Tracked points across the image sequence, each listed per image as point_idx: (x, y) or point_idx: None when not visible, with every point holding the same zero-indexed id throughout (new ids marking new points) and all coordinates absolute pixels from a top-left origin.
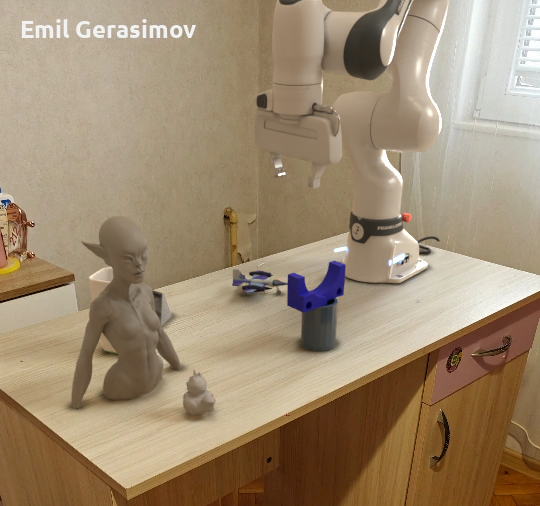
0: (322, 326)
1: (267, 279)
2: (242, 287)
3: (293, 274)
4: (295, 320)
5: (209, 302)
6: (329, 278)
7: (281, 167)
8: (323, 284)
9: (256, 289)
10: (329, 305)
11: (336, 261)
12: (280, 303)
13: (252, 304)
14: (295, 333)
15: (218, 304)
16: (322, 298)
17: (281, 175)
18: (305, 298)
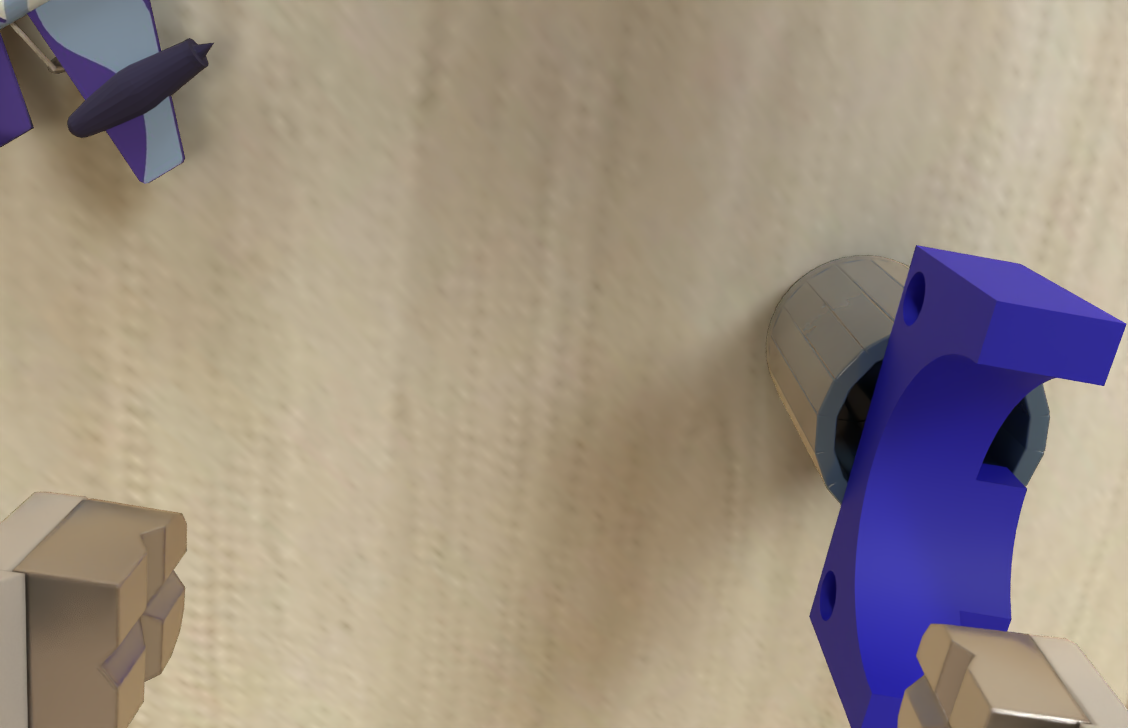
0: None
1: None
2: (80, 136)
3: (892, 722)
4: (573, 174)
5: (20, 294)
6: (977, 371)
7: (37, 613)
8: (935, 394)
9: (166, 96)
10: (1026, 464)
11: (1021, 307)
12: (331, 20)
13: (218, 151)
14: (683, 315)
15: (80, 283)
16: (1014, 526)
17: (155, 598)
18: None
